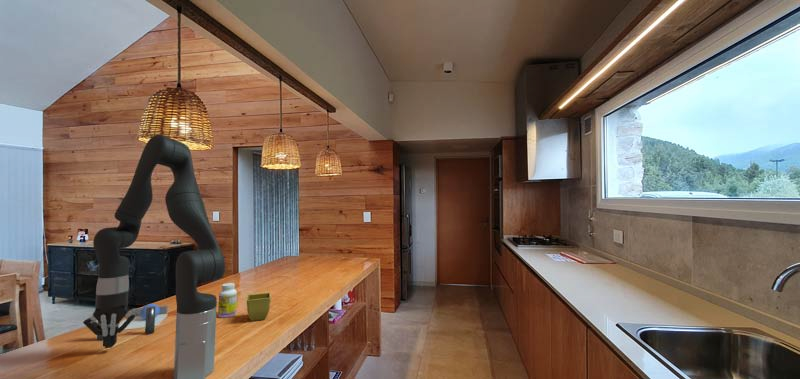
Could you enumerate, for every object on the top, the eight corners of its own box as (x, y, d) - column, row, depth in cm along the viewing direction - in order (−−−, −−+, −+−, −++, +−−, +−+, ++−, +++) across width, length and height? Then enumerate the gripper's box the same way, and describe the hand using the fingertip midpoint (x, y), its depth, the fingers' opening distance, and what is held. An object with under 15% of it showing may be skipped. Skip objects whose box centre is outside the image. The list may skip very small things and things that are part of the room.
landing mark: (157, 326, 118) (157, 325, 118) (110, 331, 112) (110, 331, 112) (168, 314, 130) (168, 313, 130) (126, 318, 125) (126, 318, 125)
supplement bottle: (214, 316, 128) (215, 285, 129) (229, 311, 134) (230, 281, 135) (224, 319, 125) (225, 287, 126) (239, 314, 131) (240, 283, 132)
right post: (152, 333, 110) (154, 308, 111) (143, 335, 109) (145, 309, 110) (155, 331, 113) (156, 306, 113) (146, 332, 112) (147, 306, 112)
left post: (105, 339, 105) (106, 312, 106) (95, 341, 104) (97, 313, 105) (108, 337, 108) (110, 310, 108) (99, 338, 107) (100, 311, 107)
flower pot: (246, 316, 128) (247, 294, 129) (269, 313, 132) (270, 292, 132) (245, 324, 120) (246, 300, 121) (270, 320, 124) (270, 297, 124)
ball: (163, 312, 129) (157, 322, 124) (145, 313, 128) (138, 323, 122) (161, 299, 128) (155, 309, 122) (143, 301, 126) (136, 311, 120)
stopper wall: (166, 313, 131) (166, 306, 132) (130, 317, 127) (131, 309, 127) (167, 312, 133) (167, 305, 133) (132, 316, 128) (132, 308, 128)
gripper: (78, 296, 92) (74, 356, 91) (134, 291, 97) (131, 348, 96) (91, 289, 98) (88, 345, 97) (143, 285, 104) (140, 338, 103)
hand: (109, 346), depth 97 cm, fingers closed
